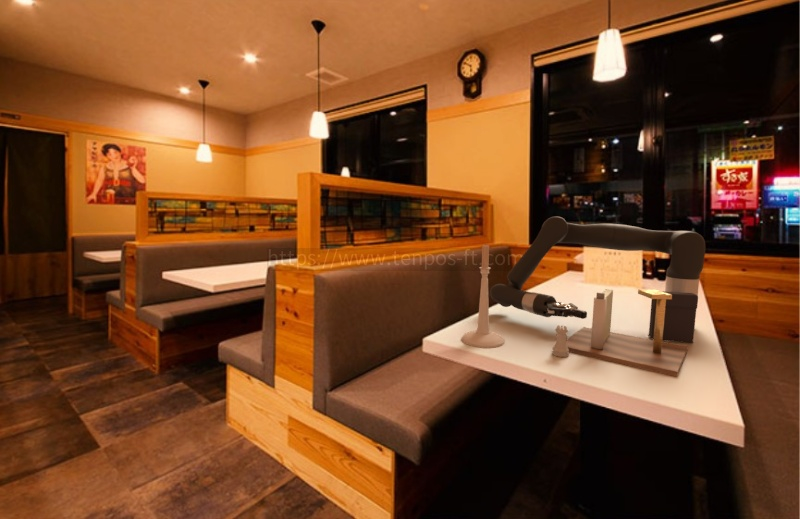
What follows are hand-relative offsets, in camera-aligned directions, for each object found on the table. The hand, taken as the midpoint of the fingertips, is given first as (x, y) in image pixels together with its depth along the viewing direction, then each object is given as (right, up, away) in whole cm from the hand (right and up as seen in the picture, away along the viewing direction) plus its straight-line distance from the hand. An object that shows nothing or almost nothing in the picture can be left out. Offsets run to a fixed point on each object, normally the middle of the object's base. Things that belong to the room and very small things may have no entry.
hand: (585, 315), depth 118 cm
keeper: (+12, -9, -12) cm, 19 cm away
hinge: (+2, -7, -6) cm, 9 cm away
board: (+6, -9, -9) cm, 14 cm away
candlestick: (-33, -8, -1) cm, 33 cm away
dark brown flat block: (+26, -8, 0) cm, 27 cm away
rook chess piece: (-13, -9, -13) cm, 21 cm away
